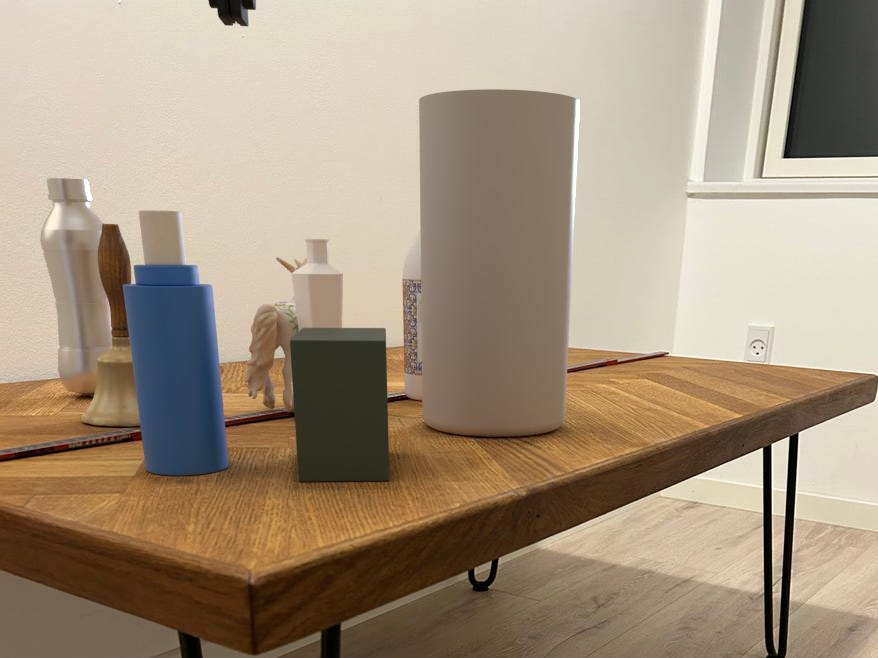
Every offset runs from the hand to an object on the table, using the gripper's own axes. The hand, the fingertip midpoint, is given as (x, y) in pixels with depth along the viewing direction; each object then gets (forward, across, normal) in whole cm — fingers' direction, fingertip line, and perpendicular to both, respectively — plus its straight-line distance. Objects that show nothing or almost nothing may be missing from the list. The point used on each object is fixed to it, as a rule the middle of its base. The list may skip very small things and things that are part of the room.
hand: (233, 21), depth 64 cm
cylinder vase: (+29, -19, -7) cm, 35 cm away
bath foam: (+29, -15, -24) cm, 40 cm away
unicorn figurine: (+29, +1, -20) cm, 35 cm away
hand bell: (+29, +13, -10) cm, 33 cm away
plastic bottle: (+29, +20, -25) cm, 43 cm away
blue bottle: (+28, 0, +9) cm, 30 cm away
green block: (+28, -7, +9) cm, 31 cm away
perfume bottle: (+29, -4, -13) cm, 32 cm away
